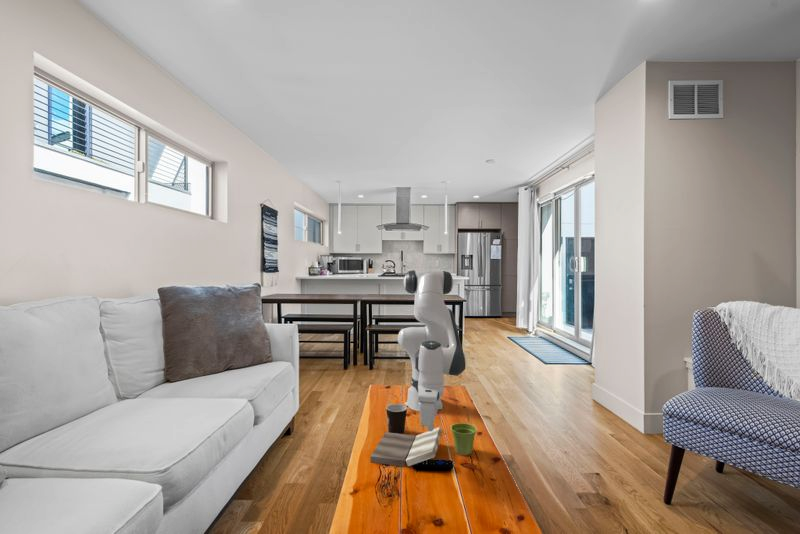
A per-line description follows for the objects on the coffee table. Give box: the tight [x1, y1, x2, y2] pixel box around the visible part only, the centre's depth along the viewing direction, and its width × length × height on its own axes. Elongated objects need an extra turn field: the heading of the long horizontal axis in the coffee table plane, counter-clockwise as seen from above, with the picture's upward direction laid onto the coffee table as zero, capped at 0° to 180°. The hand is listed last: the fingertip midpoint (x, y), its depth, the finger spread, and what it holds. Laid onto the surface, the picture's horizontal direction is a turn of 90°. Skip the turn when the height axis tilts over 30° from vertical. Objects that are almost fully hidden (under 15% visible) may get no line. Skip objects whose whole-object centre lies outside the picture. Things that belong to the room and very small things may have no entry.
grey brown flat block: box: [369, 431, 416, 467], centre depth 135 cm, size 20×12×2 cm, turn 167°
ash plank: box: [406, 426, 443, 467], centre depth 133 cm, size 20×10×2 cm, turn 167°
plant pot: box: [450, 422, 478, 456], centre depth 135 cm, size 9×9×9 cm
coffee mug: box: [385, 403, 408, 434], centre depth 152 cm, size 12×9×10 cm
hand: (430, 429), depth 127 cm, fingers closed
